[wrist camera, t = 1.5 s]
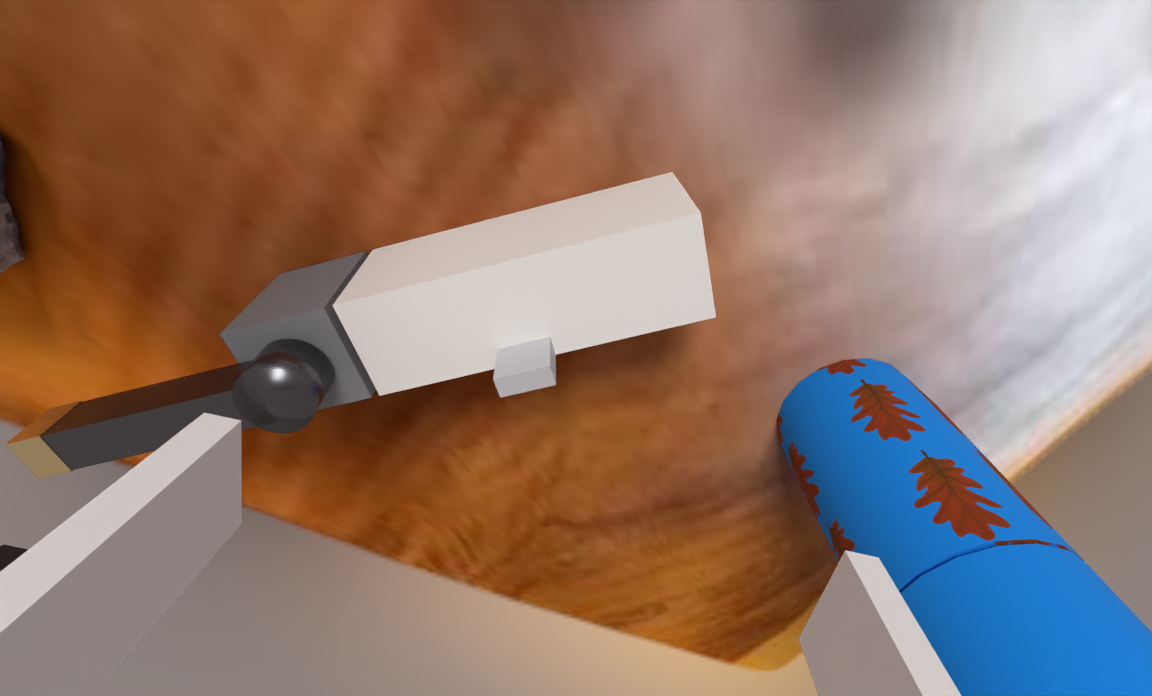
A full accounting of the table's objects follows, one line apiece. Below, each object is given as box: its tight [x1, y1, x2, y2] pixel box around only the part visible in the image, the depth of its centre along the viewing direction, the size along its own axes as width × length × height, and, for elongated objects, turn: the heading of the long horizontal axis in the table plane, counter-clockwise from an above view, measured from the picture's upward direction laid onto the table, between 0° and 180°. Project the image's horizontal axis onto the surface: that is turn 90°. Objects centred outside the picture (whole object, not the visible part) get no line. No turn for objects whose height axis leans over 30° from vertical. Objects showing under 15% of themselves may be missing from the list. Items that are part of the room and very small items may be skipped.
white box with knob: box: [220, 172, 716, 410], centre depth 34 cm, size 6×26×11 cm, turn 104°
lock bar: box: [5, 338, 334, 479], centre depth 32 cm, size 4×16×3 cm, turn 104°
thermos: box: [777, 359, 1152, 696], centre depth 35 cm, size 11×11×25 cm
